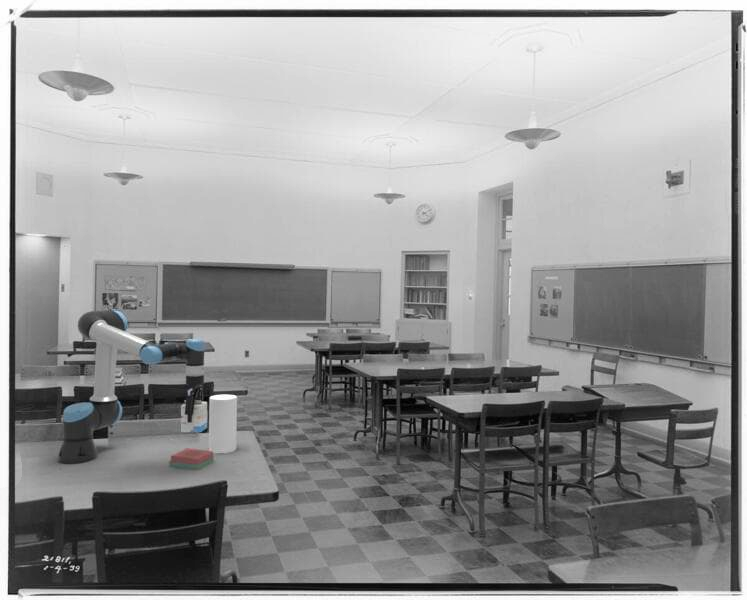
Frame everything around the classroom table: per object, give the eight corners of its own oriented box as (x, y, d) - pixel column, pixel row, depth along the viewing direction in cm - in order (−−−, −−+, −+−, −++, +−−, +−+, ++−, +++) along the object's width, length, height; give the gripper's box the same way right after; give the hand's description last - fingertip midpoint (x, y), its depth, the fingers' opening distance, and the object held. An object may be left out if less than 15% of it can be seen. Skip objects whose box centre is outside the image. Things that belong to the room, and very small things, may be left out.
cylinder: (231, 444, 269) (232, 393, 269) (239, 451, 259) (240, 398, 258) (205, 448, 262) (206, 395, 262) (213, 455, 252) (214, 400, 251)
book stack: (169, 467, 235) (169, 455, 235) (185, 458, 247) (185, 447, 247) (198, 470, 232) (198, 459, 231) (213, 462, 243) (213, 451, 243)
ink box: (207, 428, 243) (208, 397, 243) (199, 433, 235) (200, 401, 235) (188, 427, 244) (189, 396, 244) (180, 432, 236) (180, 400, 235)
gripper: (194, 379, 228) (193, 433, 229) (211, 371, 249) (211, 421, 250) (176, 378, 228) (175, 433, 229) (195, 370, 250) (194, 420, 250)
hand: (194, 426), depth 239 cm, fingers closed on ink box, 8 cm apart
